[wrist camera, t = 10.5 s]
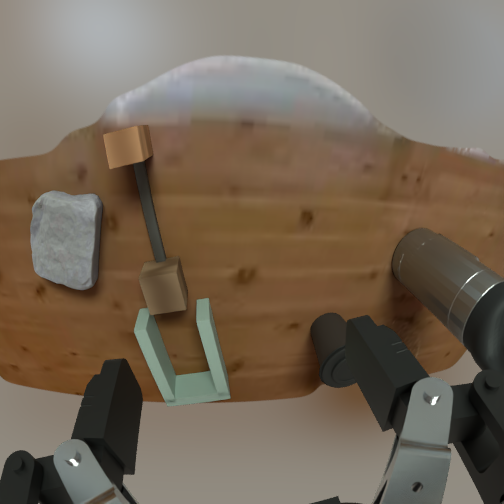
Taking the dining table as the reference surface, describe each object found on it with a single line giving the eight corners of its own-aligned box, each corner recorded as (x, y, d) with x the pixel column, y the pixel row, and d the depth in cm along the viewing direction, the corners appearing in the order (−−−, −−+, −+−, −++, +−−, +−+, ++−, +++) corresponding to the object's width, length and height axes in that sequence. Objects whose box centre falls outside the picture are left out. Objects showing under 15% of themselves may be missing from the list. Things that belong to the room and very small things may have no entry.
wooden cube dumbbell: (152, 124, 32) (142, 124, 27) (187, 290, 41) (185, 316, 36) (115, 133, 32) (98, 136, 27) (154, 296, 41) (148, 322, 35)
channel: (208, 297, 42) (209, 319, 37) (227, 375, 48) (230, 398, 43) (139, 308, 41) (133, 330, 37) (169, 383, 47) (167, 406, 43)
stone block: (47, 265, 39) (104, 283, 39) (27, 277, 34) (87, 299, 34) (49, 182, 35) (111, 194, 35) (26, 188, 30) (91, 202, 31)
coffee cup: (360, 311, 46) (390, 351, 37) (335, 351, 49) (358, 394, 40) (316, 299, 44) (342, 342, 35) (292, 342, 47) (310, 389, 38)
